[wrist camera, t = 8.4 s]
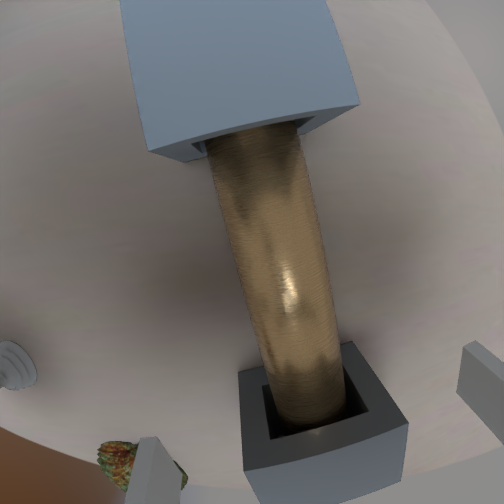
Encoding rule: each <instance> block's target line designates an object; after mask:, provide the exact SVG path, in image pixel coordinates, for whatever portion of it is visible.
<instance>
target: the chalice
mask: <svg viewBox="0 0 504 504" xmlns="http://www.w3.org/2000/svg"><path fill="white" fill-rule="evenodd" d="M36 379H37V373H36V369H35V366H34V364H33V362H32V360H31V358H30V357H29V356H28V354H27V353H26V352H25V351H24V350H23V349H22V348H21V347H20V346H18V345H17V344H15V343H14V342H11V341H8V340H7V341H2V342H0V388H1V387H5V388H6V389H9V390H20V389H23V388H25V387H28V386H32V385H34V383H35V382H36Z"/></svg>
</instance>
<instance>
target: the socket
mask: <svg viewBox="0 0 504 504" xmlns="http://www.w3.org/2000/svg"><path fill="white" fill-rule="evenodd" d="M340 351H341V359H342V366H343V374H344V383H345V392H346V401H347V411H348V419H346V420H342V421H339V422H336V423H333V424H330V425H326V426H323V427H320V428H316V429H312V430H309V431H305V432H301V433H297V434H294V435H290V436H284V432H283V429H282V425H281V422H280V419H279V415H278V412H277V408H276V405H275V402H274V398H273V395H272V391H271V388H270V384H269V381H268V378H267V374H266V371H265V367H264V366H263V367H259V368H255V369H251V370H246V371H242V372H238V381H239V401H240V419H241V437H242V454H243V470H244V473H245V475H246V477H247V479H248V481H249V483H250V485H251V487H252V489H253V491H254V492H255V495H256V496H257V498H258V500H259V502H260V504H339V503H342V502H345V501H348V500H351V499H355V498H358V497H360V496H363V495H366V494H369V493H372V492H375V491H377V490H380V489H382V488H385V487H387V486H390V485H392V484H395V483H397V482H399V481H401V477H402V471H403V464H404V458H405V450H406V442H407V434H408V424H409V423H408V421H407V420H406V418H405V417H404V415H403V414H402V412H401V411H400V409H399V408H398V406H397V405H396V403H395V402H394V400H393V399H392V397H391V396H390V395H389V393H388V392H387V390H386V389H385V387H384V386H383V384H382V383H381V381H380V380H379V379H378V377H377V376H376V374H375V373H374V371H373V370H372V368H371V367H370V366H369V364H368V363H367V361H366V360H365V358H364V357H363V356H362V354H361V353H360V351H359V350H358V348H357V347H356V346H355V344H354V343H353V341H352V342H349V343H346V344H343V345H340Z"/></svg>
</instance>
